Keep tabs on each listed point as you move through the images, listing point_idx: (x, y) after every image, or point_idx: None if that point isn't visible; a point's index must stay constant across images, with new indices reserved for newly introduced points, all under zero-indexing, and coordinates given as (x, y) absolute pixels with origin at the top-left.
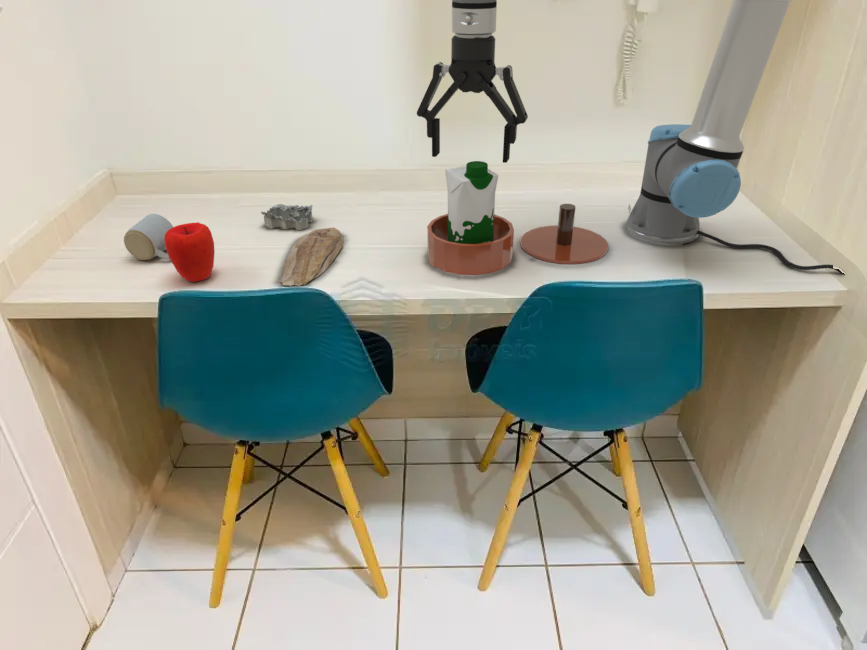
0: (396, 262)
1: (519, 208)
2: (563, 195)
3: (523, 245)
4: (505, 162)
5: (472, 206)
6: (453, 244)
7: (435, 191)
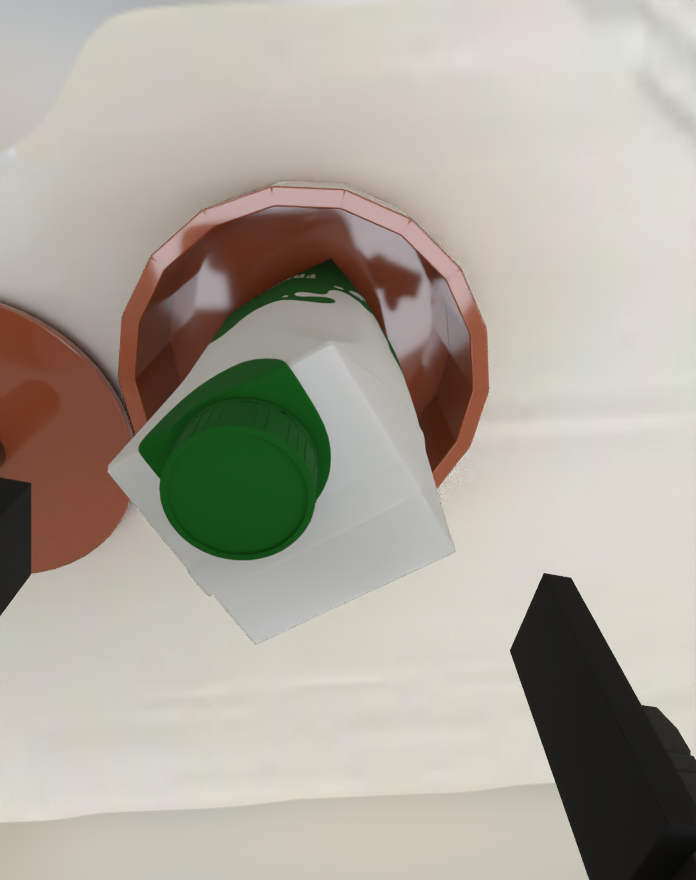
0: (576, 297)
1: (171, 701)
2: (45, 784)
3: (119, 419)
4: (7, 480)
5: (281, 318)
6: (372, 201)
7: (438, 791)
